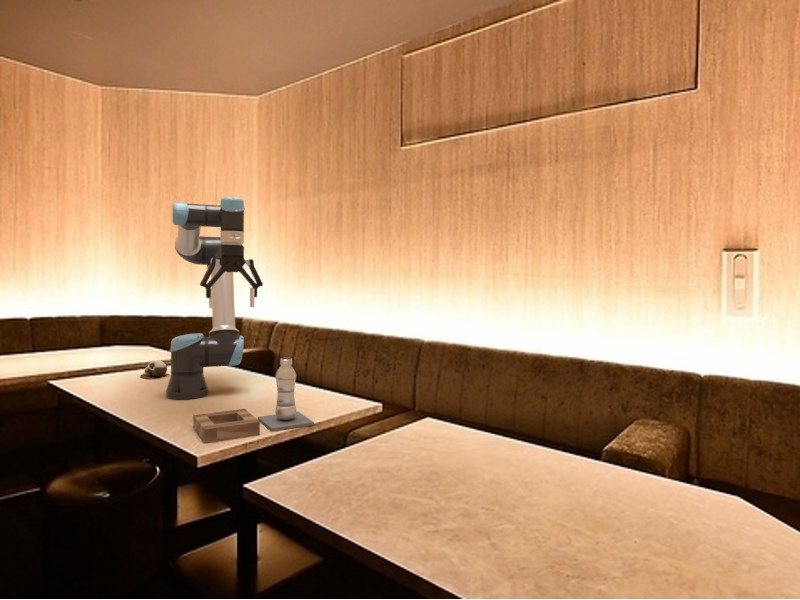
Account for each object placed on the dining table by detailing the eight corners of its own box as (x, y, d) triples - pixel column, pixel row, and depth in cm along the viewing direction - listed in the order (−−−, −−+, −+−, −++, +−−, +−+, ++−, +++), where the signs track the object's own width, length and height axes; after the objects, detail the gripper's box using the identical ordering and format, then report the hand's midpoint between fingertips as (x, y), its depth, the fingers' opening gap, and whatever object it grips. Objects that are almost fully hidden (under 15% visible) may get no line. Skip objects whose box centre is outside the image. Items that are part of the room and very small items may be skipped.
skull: (132, 376, 231) (143, 356, 237) (145, 388, 238) (155, 368, 245) (155, 377, 227) (165, 357, 234) (168, 389, 235) (177, 369, 241)
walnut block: (193, 427, 166) (193, 415, 165) (244, 420, 174) (244, 408, 174) (204, 443, 152) (204, 429, 152) (259, 434, 161) (259, 421, 160)
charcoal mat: (257, 419, 175) (257, 416, 175) (298, 414, 183) (298, 411, 183) (271, 431, 164) (271, 428, 163) (313, 425, 171) (314, 422, 171)
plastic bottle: (291, 423, 169) (292, 361, 168) (271, 421, 171) (272, 359, 169) (299, 417, 176) (300, 357, 174) (280, 415, 177) (280, 356, 176)
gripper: (195, 242, 167) (195, 309, 169) (272, 245, 181) (271, 307, 183) (190, 242, 174) (190, 307, 175) (265, 245, 187) (264, 305, 189)
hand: (232, 307), depth 179 cm, fingers open, 13 cm apart
